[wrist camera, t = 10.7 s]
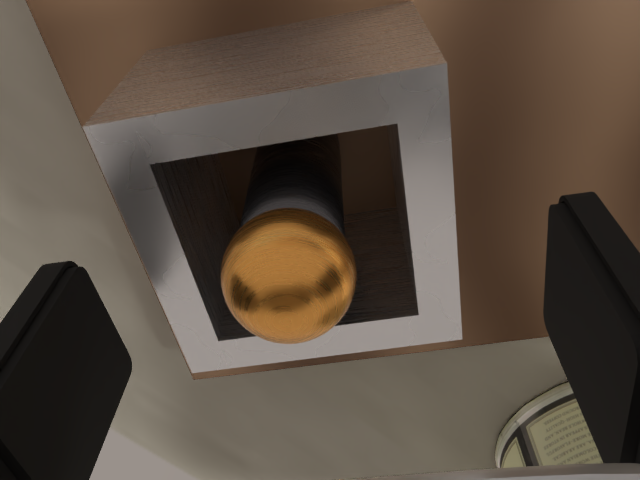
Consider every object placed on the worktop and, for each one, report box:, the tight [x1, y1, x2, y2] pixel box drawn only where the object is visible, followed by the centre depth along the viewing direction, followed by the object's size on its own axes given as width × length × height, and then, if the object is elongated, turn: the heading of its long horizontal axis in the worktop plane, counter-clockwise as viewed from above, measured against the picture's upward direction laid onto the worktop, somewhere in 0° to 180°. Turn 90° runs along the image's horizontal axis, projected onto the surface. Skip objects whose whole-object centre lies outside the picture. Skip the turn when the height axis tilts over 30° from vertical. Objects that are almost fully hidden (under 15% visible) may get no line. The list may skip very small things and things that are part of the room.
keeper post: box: [220, 133, 357, 344], centre depth 14 cm, size 3×3×7 cm
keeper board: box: [26, 0, 640, 380], centre depth 17 cm, size 24×18×2 cm
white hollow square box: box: [83, 1, 462, 373], centre depth 15 cm, size 7×7×5 cm
